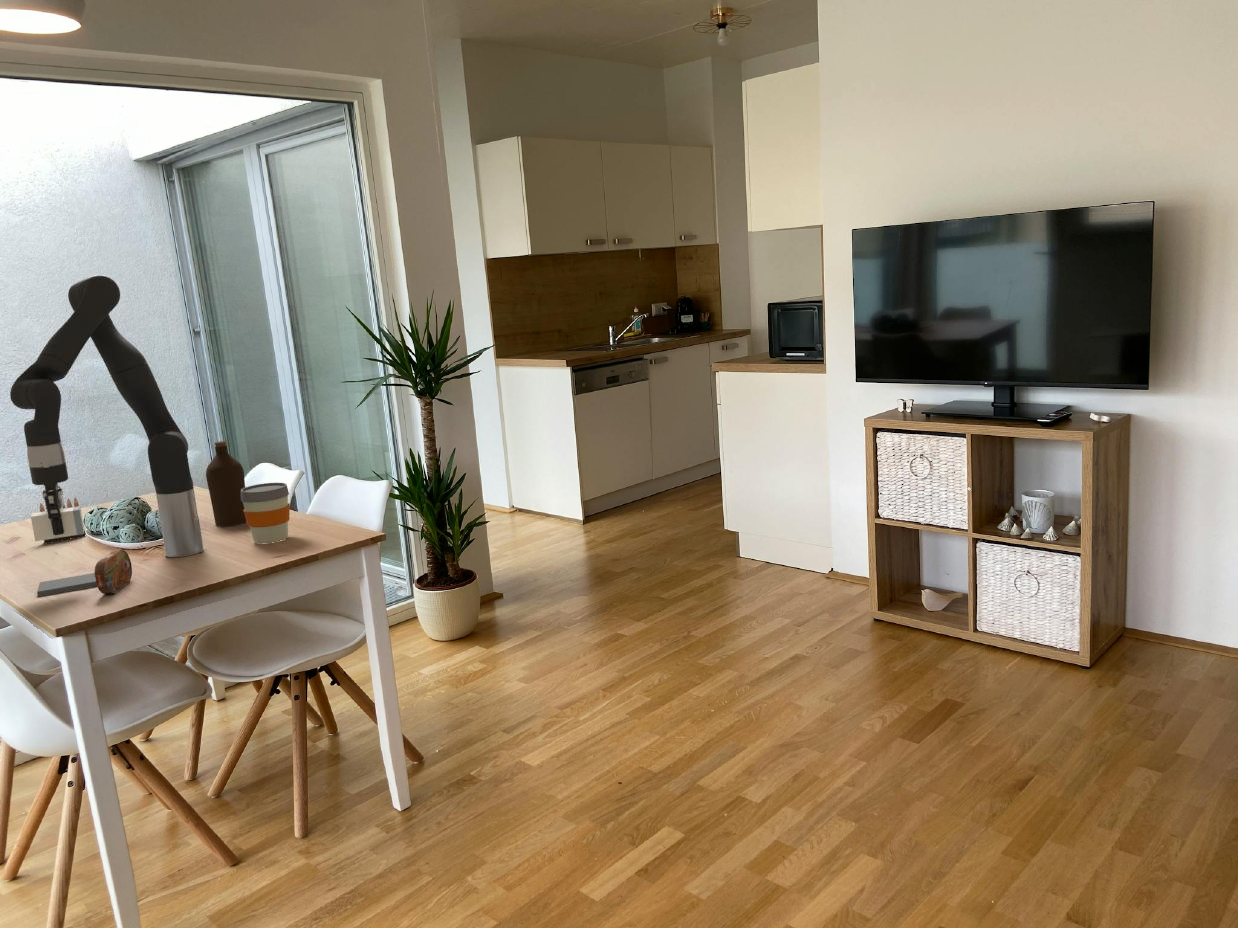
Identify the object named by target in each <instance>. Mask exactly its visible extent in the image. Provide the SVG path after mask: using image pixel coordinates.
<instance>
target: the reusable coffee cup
mask: <svg viewBox="0 0 1238 928" xmlns="http://www.w3.org/2000/svg"><path fill="white" fill-rule="evenodd" d="M289 495H290V492H289V488H288V485H287V483H285V482H265V483H258V484H252V485H249V486H245V488H243V489H241V501H242V502H243V505H244V508H245V509H244V514H245V518H246V521H247V522H246V526H247V527H249V529H250V532H251V537H252V540H253V543H254V544H255V543H272V542H277V541H280V540H284V539H286V538H287V537H289V521H290V503H289ZM287 539H288V538H287ZM287 539H286V540H287ZM284 541H285V540H284ZM277 543H278V542H277ZM272 544H273V543H272Z"/></svg>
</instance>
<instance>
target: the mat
mask: <svg viewBox="0 0 1238 928" xmlns="http://www.w3.org/2000/svg"><path fill="white" fill-rule="evenodd" d="M93 587H98V586H97V582H96V578H95V572H92V573H85V574H81V575H79V574H78V575H74V576H69V577H63V578H57V579H52V580H45V581H40V582H39V584H38V587H37V590H36V594H37V597H38V598H39V597H45V596H50V595H53V594H54V595H55V594H60V593H66V592H71V591H77V590H82V589H83V590H84V589H88V588H93Z"/></svg>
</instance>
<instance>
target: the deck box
mask: <svg viewBox="0 0 1238 928" xmlns="http://www.w3.org/2000/svg"><path fill="white" fill-rule="evenodd" d="M51 512H52V514H53V513H58V512H57V510H52V511H51ZM61 515H62V523H63V529H64V533H63V534H61V535H54V534H53V529H52V524H51V520H50V519H49V518H48V512H47V510H45V512H40V511H38V512H32V513H31V515H30V520H31V525H32V526H31V527H32V531H33V536H34V541H35V542H40V541H44V540H47V539H54V538H60V537H67V536H73V535H81V534H84V529H85V525H84V520H83V513H82V508H81V506H80V505H79V506H78V507H74V506H72V508H68V507H67V508H66V507H65V509H61Z"/></svg>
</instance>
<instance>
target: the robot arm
mask: <svg viewBox="0 0 1238 928" xmlns="http://www.w3.org/2000/svg"><path fill="white" fill-rule="evenodd" d="M67 295H68V296H67V298H68V302H69V305H70V307H71V309H72V310H73V313H71V315H70V317H69V318H68V319H67V320H66V322H64V323H63V324H62V325H61V326H60V328H59V329H57V331H56V332H55V333H54V334H52V336H51V337H50V338H49V340H48V341H47V343H46V344H45V346H44V347H43V349H42V351H41V352H40V354H39V355H38V356H37V358H36V360H35V361H34V362H33V363H32V364H31V365H30V366H28V367H27V368H26V369H25V370H24V371H23V372H22V373H21V374H20V375H19V376H18V377H17V378H16V380H15V381H14V382H13V383H12V385H11V388H10V392H9V393H10V395H9V397H10V400H11V401H10V402H12V404H13V405H14V406H15V407H16V408H18V409H22V410H34V417H33V419H30V420H28V421H27V422H25V423H24V425H23V429H24V430H23V431H24V438H25V443H26V450H27V451H26V453H27V454H26V455H27V460H28V461H27V462H28V468H29V471H30V472H29V473H30V477H31V482H32V484H33V485H34V486H44V488H45V489H44V490H42V493H41V494H42V498H43V500H44V505H45V507H44V508H45V511H47V512H48V518H49V519H50V520H51V524H52V529H53V534H54V535H61V534H63V533H64V529H63V523H62V515H61V509H63V508H64V506H63V505H65V501H64V496H63V495H64V491H63V488H62V487H61V486H60V485H59V483H60V484H61V483H64V482H67V480H69V472H68V467H67V461H66V455H65V450H64V447H63V444H62V439H61V434H60V428H59V423H60V422H59V421H60V414H61V406H62V395H61V391H60V388H59V387H58V385H57V384H56V383H55V382H57V381H61V380H63V379H64V378H65V377H66V376H68V374H69V372H70V370H71V368H72V367H73V365H74V363H75V361H76V360H77V358H78V357H79V355H80V353H81V351H82V350H83V348H84V347H85V345H86V343H87V342H88V341H89V339H91V341H92V343H93V344H94V346H95V348H96V350H97V352H98V353H99V355H100V357H101V359H102V361H103V362H104V365H105V367H106V370H107V371H108V372H109V376H110V377H111V379H112V381H113V383H114V385H115V387H116V389H117V391H118V392H119V394H120V395H121V397H122V399H123V400H124V401H125V402H126V404H127V405H128V406H129V408H130V409H132V411H133V412H134V413H135V415H136V416H137V418H138V420H139V421H140V423H141V425H142V427H143V429H144V432H145V434H146V437H147V440H148V442H149V443H148V445H147V456H148V457H147V458H148V464H149V469H150V474H151V480H152V483H153V486H154V489H155V496H156V502H157V507H158V509H157V510H158V515H159V522H160V527H161V534H162V540H163V546H164V552H165V556H166V557H169V558H179V557H189V556H192V555H196V554H197V553H202V552H204V551H205V550H204V549H205V548H204V543H203V537H202V532H201V524H200V518H199V514H198V507H197V501H196V495H195V489H194V481H193V477H192V475H191V470H190V469H191V468H190V464H189V457H188V452H189V443H188V441H187V438H186V436H185V435H184V433H183V432H182V431H181V429H180V428H179V426H178V425H177V423H176V421H175V420H174V418H173V416H172V415H171V413H170V412H169V409H168V407H167V406H166V405H167V404H166V403H165V400H164V397H163V395H162V393H161V390H160V388H159V387H160V386H159V385H158V383H157V381H156V378H155V376H154V373H153V371H152V369H151V367H150V365H149V364H148V362H147V360H146V358H145V356H144V355H143V354H142V353H141V351H140V350H139V349H138V348H137V347H136V346H135V345H133V344H132V343H131V342H130V341H129V340H128V339H127V338H125V337H124V336H123V335H122V334H121V333H120V332H119V330H118V329H117V328H116V325H115V324H114V322H113V320H112V319H111V317H110V313H111V312H112V311H113V310H114V309H115V308H116V307H117V306H118V304H119V303H120V299H121V291H120V288H119V285H118V283H117V282H116V281H115V280H114V279H113V278H111V277H110V276H108V275H107V276H106V275H103V274H95V275H91V276H89V277H86V278H84V279H82V280H79V281H77V282H75V283H74V284H72V285H71V286H70V287H69V289H68V294H67ZM52 510H57V512H58V513H53V514H52V512H51V511H52Z"/></svg>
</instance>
